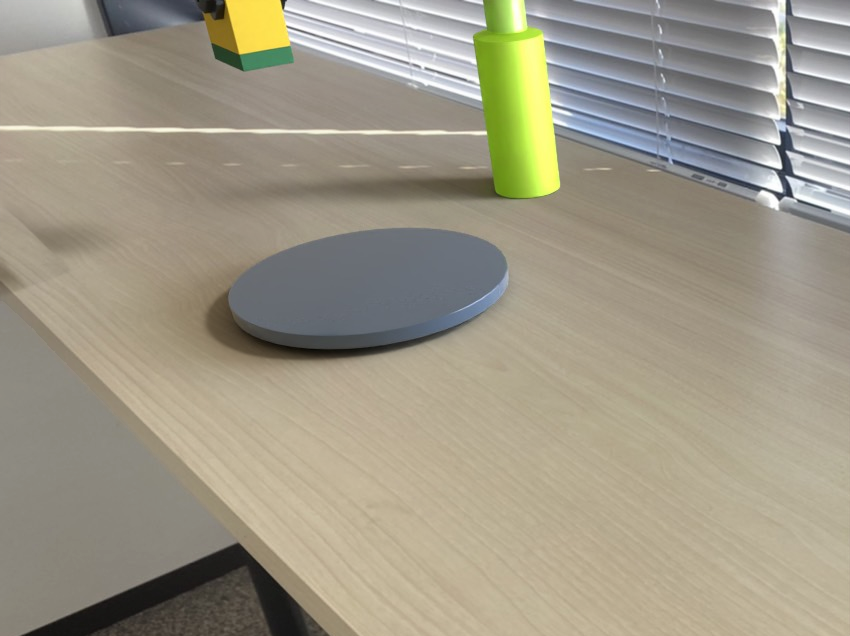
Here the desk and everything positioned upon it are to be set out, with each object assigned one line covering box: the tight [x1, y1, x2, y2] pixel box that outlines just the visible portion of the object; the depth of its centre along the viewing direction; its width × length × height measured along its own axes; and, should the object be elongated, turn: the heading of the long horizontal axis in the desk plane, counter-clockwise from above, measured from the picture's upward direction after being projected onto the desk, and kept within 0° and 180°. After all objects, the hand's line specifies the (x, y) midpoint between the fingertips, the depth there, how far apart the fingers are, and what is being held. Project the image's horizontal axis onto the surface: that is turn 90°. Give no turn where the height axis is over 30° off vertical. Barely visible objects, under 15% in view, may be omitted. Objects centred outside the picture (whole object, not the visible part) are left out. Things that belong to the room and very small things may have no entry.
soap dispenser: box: [472, 0, 561, 199], centre depth 99 cm, size 6×7×20 cm
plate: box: [227, 227, 510, 350], centre depth 86 cm, size 20×20×2 cm
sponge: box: [202, 0, 295, 73], centre depth 87 cm, size 4×6×8 cm
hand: (251, 7), depth 85 cm, fingers closed on sponge, 4 cm apart
